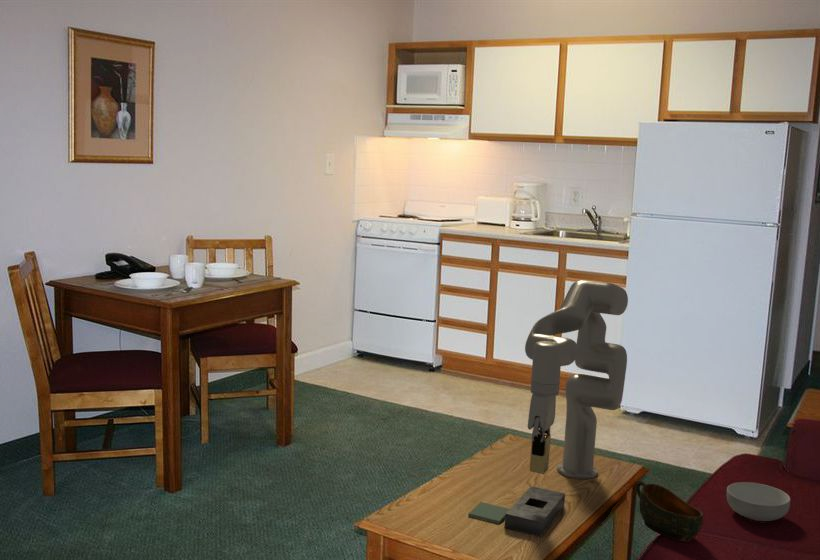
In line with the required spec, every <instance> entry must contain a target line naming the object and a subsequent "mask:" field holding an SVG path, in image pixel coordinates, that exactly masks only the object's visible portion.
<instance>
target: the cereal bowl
mask: <svg viewBox="0 0 820 560" xmlns="http://www.w3.org/2000/svg"><path fill="white" fill-rule="evenodd" d="M726 500H727V503H728V505H729V507H730V508H731V509H732V510H733V511H734V512H735V513H737V515H738V514H739V515H740V516H742V517H743V516H744V518H745V517H747V518H750V519H754V520H761V521H769V522H770V521H775V520H779V519H781V518H783V517H784V516H786V515H787V513H788V512H789V509H790V506H791V497H790V496H789V494H788V493H786V492H785V491H783V490H781V489H779V488H776V487H774V486H771V485H767V484H763V483H758V482H752V481H751V482H749V481H747V482H746V481H742V482H741V481H740V482H733V483H731V484H729V485H728V486H727V487H726ZM747 518H746V519H747Z"/></svg>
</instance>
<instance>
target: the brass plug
mask: <svg viewBox="0 0 820 560" xmlns="http://www.w3.org/2000/svg"><path fill="white" fill-rule="evenodd" d="M538 433H539V432H538ZM539 434H540V435H541V433H539ZM551 436H552V434H551V433H550V434H545V433H544V441H543V442H545V445H544V455H543V456H537V455H533V454H532V443H533V436H531V445H530V446H531V448H530V457H529V458H530V461H529V472H532V473H535V474H536V473H537V474H541V475H545V474H546V473H547V471H548V470H549V466H550V465H549V463H550V462H549V461H550V450H551Z"/></svg>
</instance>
